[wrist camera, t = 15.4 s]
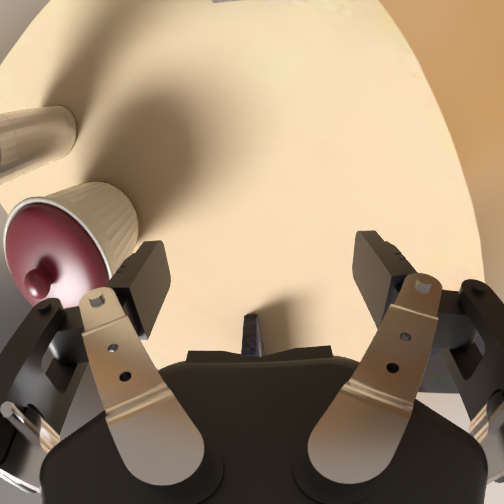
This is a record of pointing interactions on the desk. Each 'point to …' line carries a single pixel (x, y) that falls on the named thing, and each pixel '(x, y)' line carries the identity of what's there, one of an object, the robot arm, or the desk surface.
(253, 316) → the vhs cassette tape
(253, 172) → the desk surface
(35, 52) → the desk surface
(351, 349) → the desk surface
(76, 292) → the canister
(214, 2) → the tray
